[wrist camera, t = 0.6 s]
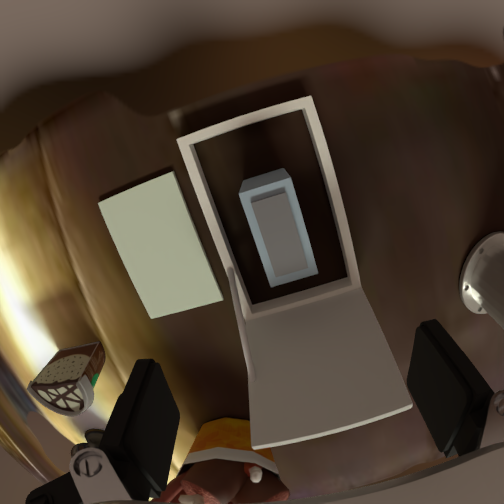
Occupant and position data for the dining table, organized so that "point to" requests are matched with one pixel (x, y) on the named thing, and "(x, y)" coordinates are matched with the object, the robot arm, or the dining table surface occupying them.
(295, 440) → the case
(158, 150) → the dining table surface
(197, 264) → the mat
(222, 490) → the bucket of meat
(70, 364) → the food container
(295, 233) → the box
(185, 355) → the dining table surface
